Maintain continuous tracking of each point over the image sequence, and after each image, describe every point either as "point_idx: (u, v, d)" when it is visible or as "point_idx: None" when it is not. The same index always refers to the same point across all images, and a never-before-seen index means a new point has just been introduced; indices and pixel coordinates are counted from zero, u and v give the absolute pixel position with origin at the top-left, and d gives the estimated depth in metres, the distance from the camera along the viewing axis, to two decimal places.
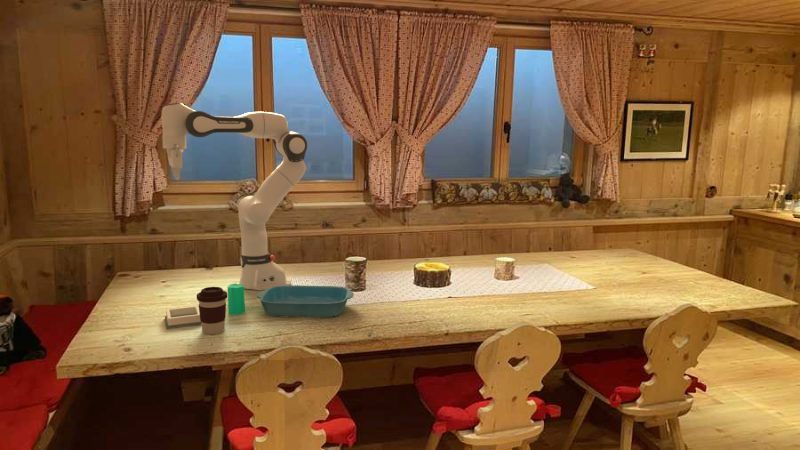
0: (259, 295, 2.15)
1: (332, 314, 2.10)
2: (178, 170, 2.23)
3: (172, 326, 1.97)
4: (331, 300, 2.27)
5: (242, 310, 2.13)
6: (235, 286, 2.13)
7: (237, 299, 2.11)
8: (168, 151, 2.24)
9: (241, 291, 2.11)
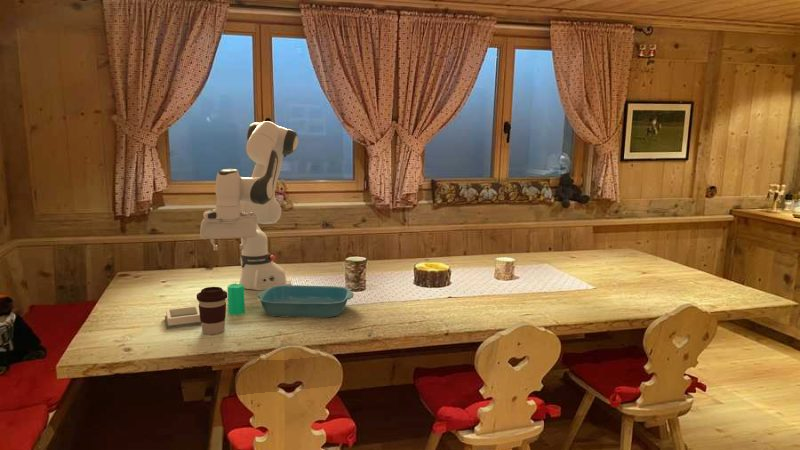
0: (259, 295, 2.15)
1: (331, 314, 2.09)
2: None
3: (172, 326, 1.97)
4: (331, 300, 2.27)
5: (242, 310, 2.13)
6: (235, 286, 2.13)
7: (237, 299, 2.11)
8: (234, 221, 2.08)
9: (241, 291, 2.11)
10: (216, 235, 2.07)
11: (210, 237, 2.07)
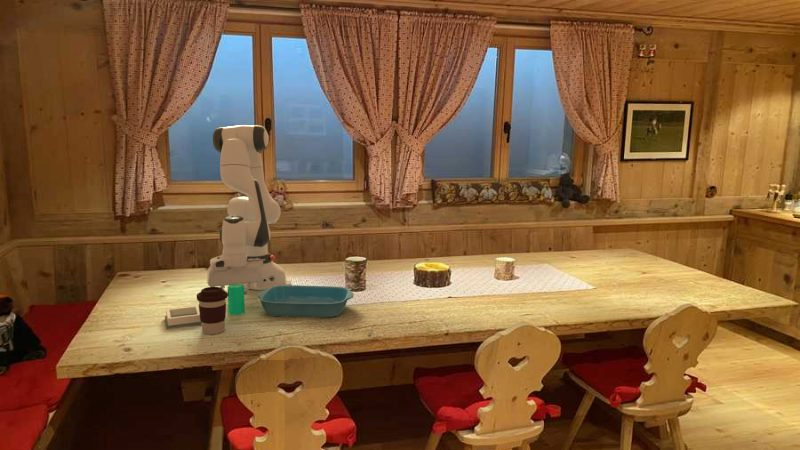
0: (259, 295, 2.16)
1: (331, 314, 2.09)
2: None
3: (172, 326, 1.97)
4: (332, 300, 2.26)
5: (242, 310, 2.13)
6: (235, 286, 2.13)
7: (237, 299, 2.11)
8: (241, 268, 2.10)
9: (241, 291, 2.11)
10: (224, 282, 2.09)
11: (218, 285, 2.08)
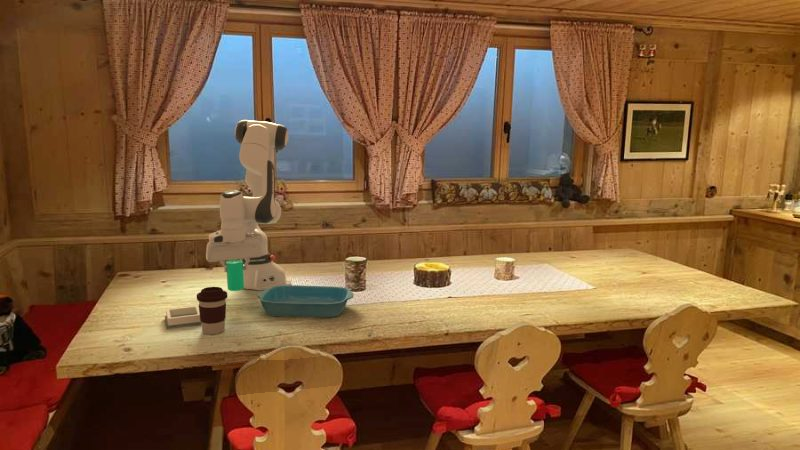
0: (259, 295, 2.16)
1: (331, 314, 2.09)
2: None
3: (172, 326, 1.97)
4: (332, 300, 2.26)
5: (241, 286, 2.12)
6: (234, 262, 2.12)
7: (236, 275, 2.10)
8: (240, 243, 2.08)
9: (240, 267, 2.10)
10: (223, 258, 2.07)
11: (217, 260, 2.07)
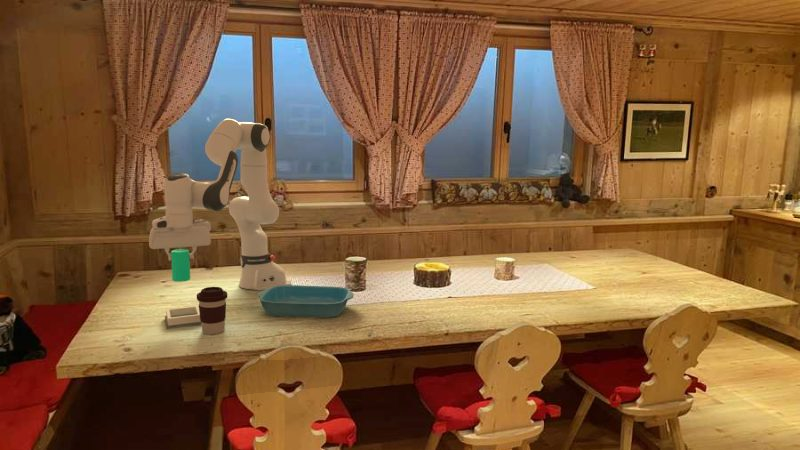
0: (259, 294, 2.16)
1: (330, 315, 2.09)
2: None
3: (172, 326, 1.97)
4: (332, 301, 2.26)
5: (187, 277, 1.99)
6: (180, 251, 1.99)
7: (180, 265, 1.97)
8: (185, 229, 1.96)
9: (185, 256, 1.98)
10: (167, 245, 1.95)
11: (160, 247, 1.94)
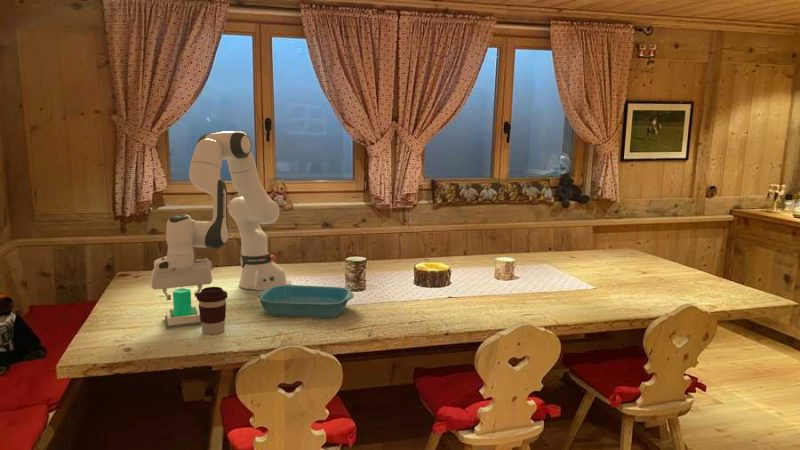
0: (260, 294, 2.16)
1: (330, 315, 2.09)
2: None
3: (172, 326, 1.97)
4: (332, 301, 2.26)
5: None
6: (181, 291, 2.02)
7: (182, 305, 1.99)
8: (187, 269, 1.99)
9: (186, 296, 2.00)
10: (169, 285, 1.97)
11: (162, 287, 1.97)
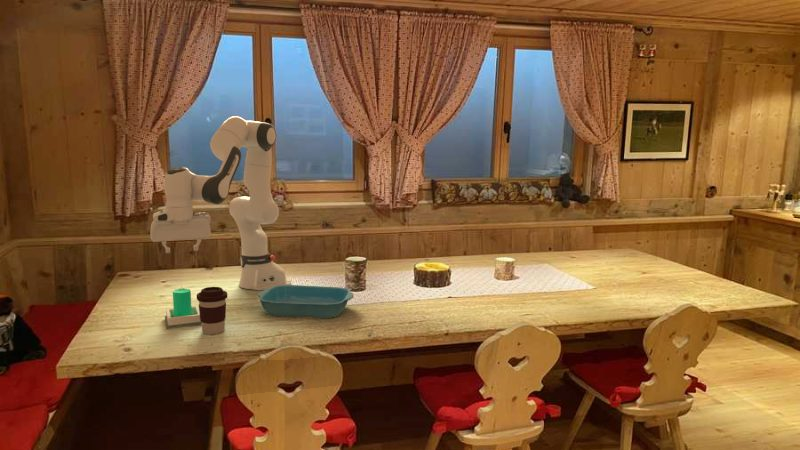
0: (260, 294, 2.16)
1: (329, 315, 2.08)
2: None
3: (172, 326, 1.97)
4: (333, 301, 2.26)
5: None
6: (181, 291, 2.02)
7: (181, 305, 1.99)
8: (186, 222, 1.99)
9: (186, 296, 2.00)
10: (168, 237, 1.98)
11: (162, 240, 1.98)
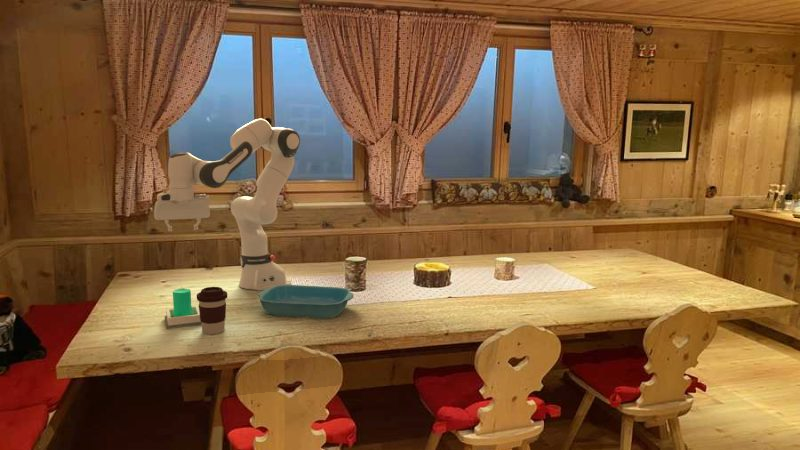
0: (260, 294, 2.17)
1: (328, 315, 2.08)
2: None
3: (172, 326, 1.97)
4: (333, 301, 2.25)
5: None
6: (181, 291, 2.02)
7: (181, 305, 1.99)
8: (187, 202, 2.17)
9: (186, 296, 2.00)
10: (170, 216, 2.15)
11: (164, 218, 2.15)
